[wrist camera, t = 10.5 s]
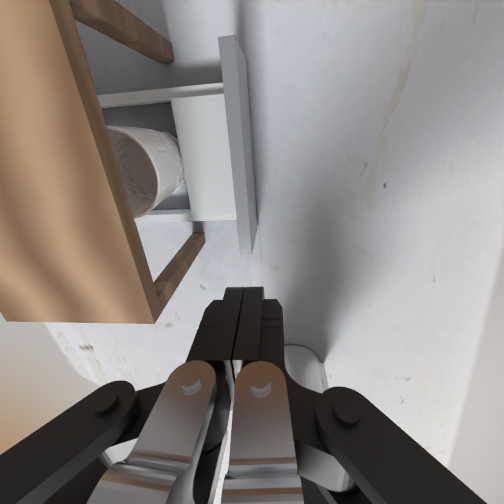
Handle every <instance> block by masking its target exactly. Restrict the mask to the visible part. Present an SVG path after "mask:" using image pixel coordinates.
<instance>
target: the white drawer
mask: <svg viewBox="0 0 504 504" xmlns="http://www.w3.org/2000/svg"><path fill="white" fill-rule="evenodd" d="M218 40H219V50H220V60H221V70H222V80H223V83H213V84H203V85H193V86H183V87H173V88H163V89H153V90H143V91H133V92H123V93H113V94H103V95H97V96H98V100H99V103H100V106H101V108H112V107H122V106H133V105H144V104H155V103H165V102H171V106H172V111H173V116H174V122H175V127H176V132H177V138H178V143H179V148H180V154H181V159H182V162H183V170H184V175H185V180H186V186H187V191H188V196H189V202H190V207H191V209H175V210H151V211H150V212H149V213H147V214H146V215H144V216H142V217H140V218H137V219H134V220H135V223H156V222H185V221H215V220H237V226H238V236H239V245H240V255H252V251H253V246H254V242H255V237H256V232H257V217H256V201H255V186H254V170H253V155H252V139H251V123H250V108H249V92H248V77H247V61H246V57H245V55H244V53H243V51H242V49H241V47H240V45H239V43H238V41H237V39H236V37H235V35H230V36H222V37H218Z"/></svg>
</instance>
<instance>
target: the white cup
mask: <svg viewBox="0 0 504 504" xmlns="http://www.w3.org/2000/svg"><path fill="white" fill-rule="evenodd" d="M106 126H107V130H108V133H109V136H110V140H111V143H112V146H113V150H114V153H115V156H116V160H117V163H118V166H119V170H120V173H121V176H122V180H123V183H124V186H125V190H126V193H127V196H128V200H129V203H130V206H131V210H132V213H133V216H134V219H137V218H140V217H142V216H144V215H146V214H147V213H149V212H150V211H151V210H152V209H154V208H155V207H156V206H157V205H159V204H160V203H161V202H162V201H164V200H165V199H166V198H167V197H168V196H170V195H171V194H172V193H173V192H174V191H175V190H176V189H177V188H178V187H179V186H180V185H181V184H182V183H183V182H184V180H185V175H184V170H183V162H182V159H181V154H180V148H179V143H178V139H177V138H175V137H174V136H172V135H171V134H169V133H168V132H162V131H156V130H152V129H145V128H137V127H122V126H108V125H106Z"/></svg>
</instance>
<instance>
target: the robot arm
mask: <svg viewBox="0 0 504 504" xmlns="http://www.w3.org/2000/svg"><path fill="white" fill-rule="evenodd" d="M230 410H233V416H232V430H231V444H230V457H229V467H228V472H227V474H226V475H225V478H224V483H223V489H222V497H221V504H487V503H486V502H484V501H483V500H482V499H481V498H480V497H479V496H478V495H476V494H475V493H474V492H473V491H472V490H471V489H470V488H468V487H467V486H466V485H465V484H464V483H463V482H461V481H460V480H459V479H458V478H457V477H456V476H455V475H454V474H452V473H451V472H450V471H449V470H448V469H447V468H446V467H444V466H443V465H442V464H441V463H440V462H439V461H437V460H436V459H435V458H434V457H433V456H432V455H431V454H429V453H428V452H427V451H426V450H425V449H424V448H423V447H421V446H420V445H419V444H418V443H417V442H416V441H415V440H413V439H412V438H411V437H410V436H409V435H408V434H406V433H405V432H404V431H403V430H402V429H401V428H400V427H398V426H397V425H396V424H395V423H394V422H393V421H392V420H390V419H389V418H388V417H387V416H386V415H385V414H384V413H382V412H381V411H380V410H379V409H378V408H377V407H376V406H374V405H373V404H372V403H371V402H370V401H369V400H367V399H366V398H365V397H364V396H363V395H361V394H360V393H358V392H357V391H355V390H352V389H350V388H346V387H332V388H328V382H327V377H326V372H325V366H324V364H323V363H321V362H320V361H319V360H318V358H317V356H316V355H315V354H314V353H313V352H312V351H311V350H309V349H307V348H305V347H301V346H296V345H287V346H284V334H283V312H282V306H281V305H280V303H279V302H278V300H277V299H265V298H264V287H227V288H226V291H225V294H224V297H223V300H213V301H212V302H211V304H210V305H209V306H208V307H207V308H206V309H205V312H204V314H203V317H202V320H201V322H200V325H199V329H198V330H197V333H196V336H195V338H194V341H193V344H192V346H191V349H190V352H189V354H188V357H187V360H186V362H185V363H184V364H182V365H180V366H179V367H177V368H176V369H175V370H174V371H173V372H172V373H171V374H170V376H169V378H168V379H167V381H166V382H164V383H162V384H159V385H156V386H152V387H149V388H145V389H142V390H138V391H135V389H134V387H133V385H132V384H131V383H129V382H127V381H114V382H110V383H108V384H105V385H103V386H102V387H100V388H98V389H97V390H95V391H94V392H92V393H91V394H89V395H88V396H87V397H85V398H83V399H82V400H81V401H79V402H78V403H76V404H75V405H73V406H72V407H70V408H69V409H67V410H66V411H64V412H63V413H62V414H60V415H59V416H57V417H56V418H54V419H53V420H51V421H50V422H48V423H47V424H45V425H44V426H42V427H41V428H40V429H38V430H36V431H35V432H33V433H32V434H30V435H29V436H28V437H26V438H25V439H23V440H22V441H20V442H19V443H17V444H16V445H14V446H13V447H11V448H10V449H8V450H7V451H5V452H4V453H2V454H1V455H0V504H213V501H214V497H215V492H216V487H217V483H218V478H219V474H220V469H221V464H222V460H223V455H224V451H225V446H226V441H227V425H228V419H229V412H230Z"/></svg>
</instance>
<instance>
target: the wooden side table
mask: <svg viewBox="0 0 504 504" xmlns="http://www.w3.org/2000/svg"><path fill="white" fill-rule="evenodd" d="M75 20H77V21H79V22H81V23H83V24H85V25H87V26H89V27H91V28H93V29H95V30H97V31H99V32H101V33H103V34H105V35H106V36H108V37H110V38H112V39H114V40H116V41H118V42H120V43H122V44H124V45H126V46H128V47H130V48H132V49H134V50H136V51H138V52H139V53H141V54H143V55H145V56H147V57H149V58H151V59H153V60H155V61H157V62H159V63H167V62H174V57H173V51H172V45H171V43H170V42H169V41H168V40H166V39H165V38H164V37H162V36H161V35H160V34H158V33H157V32H156V31H154V30H153V29H152V28H150V27H149V26H148V25H146V24H145V23H144V22H142V21H141V20H140V19H138V18H137V17H136V16H134V15H133V14H132V13H130V12H129V11H128V10H126V9H125V8H124V7H122V6H121V5H120V4H118V3H117V2H116V1H114V0H0V312H1V313H2V315H3V317H4V318H5V320H6V321H16V322H17V321H19V322H76V323H136V324H155V322H156V321H157V319H158V317H159V316H160V314H161V313H162V311H163V309H164V308H165V306H166V305H167V303H168V301H169V300H170V298H171V296H172V295H173V293H174V292H175V290H176V288H177V287H178V285H179V284H180V282H181V280H182V279H183V277H184V276H185V274H186V272H187V271H188V269H189V268H190V266H191V264H192V263H193V261H194V260H195V258H196V256H197V255H198V253H199V252H200V250H201V248H202V247H203V245H204V244H205V239H204V233H192V235H191V236H190V237H189V238H188V240H187V241H186V242H185V244H184V245H183V246H182V247H181V249H180V250H179V251H178V252H177V254H176V255H175V256H174V257H173V259H172V260H171V261H170V263H169V264H168V265H167V266H166V268H165V269H164V270H163V271H162V273H161V274H160V275H159V276H158V278H157V279H156V280H155V282H154V283H153V280H152V277H151V273H150V270H149V267H148V263H147V260H146V257H145V253H144V250H143V247H142V243H141V240H140V237H139V233H138V230H137V226H136V223H135V220H134V216H133V213H132V210H131V206H130V203H129V200H128V196H127V193H126V190H125V186H124V183H123V180H122V176H121V173H120V170H119V166H118V163H117V160H116V156H115V153H114V150H113V146H112V143H111V140H110V136H109V133H108V130H107V126H106V123H105V120H104V116H103V113H102V110H101V106H100V103H99V100H98V96H97V93H96V90H95V86H94V83H93V80H92V76H91V73H90V70H89V66H88V63H87V60H86V56H85V53H84V50H83V46H82V43H81V40H80V36H79V33H78V30H77V26H76V23H75Z"/></svg>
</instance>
